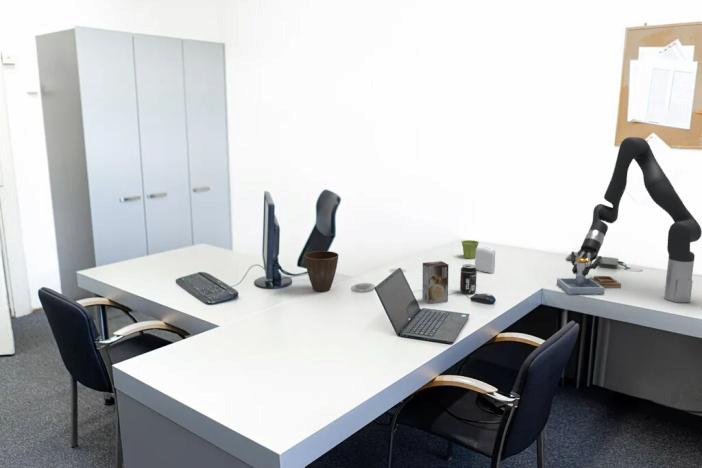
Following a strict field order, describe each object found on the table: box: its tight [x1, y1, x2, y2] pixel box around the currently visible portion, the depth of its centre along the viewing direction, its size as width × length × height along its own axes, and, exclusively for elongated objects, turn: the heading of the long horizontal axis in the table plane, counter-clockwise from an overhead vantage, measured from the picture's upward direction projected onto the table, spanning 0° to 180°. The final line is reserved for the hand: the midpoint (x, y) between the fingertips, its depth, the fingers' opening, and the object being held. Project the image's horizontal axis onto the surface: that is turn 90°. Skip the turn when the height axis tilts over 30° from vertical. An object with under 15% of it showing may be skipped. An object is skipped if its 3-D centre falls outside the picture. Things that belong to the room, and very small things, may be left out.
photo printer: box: [474, 245, 496, 274], centre depth 282 cm, size 10×4×12 cm, turn 39°
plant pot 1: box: [304, 250, 339, 293], centre depth 254 cm, size 15×15×16 cm
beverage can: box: [459, 263, 478, 295], centre depth 249 cm, size 7×7×12 cm
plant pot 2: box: [460, 239, 480, 260], centre depth 309 cm, size 9×9×9 cm
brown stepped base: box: [588, 275, 622, 289], centre depth 260 cm, size 10×10×3 cm
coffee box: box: [421, 260, 449, 304], centre depth 238 cm, size 9×6×16 cm
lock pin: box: [575, 257, 588, 286], centre depth 252 cm, size 4×4×12 cm
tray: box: [556, 277, 606, 296], centre depth 253 cm, size 15×15×3 cm
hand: (579, 273), depth 250 cm, fingers closed on lock pin, 4 cm apart
